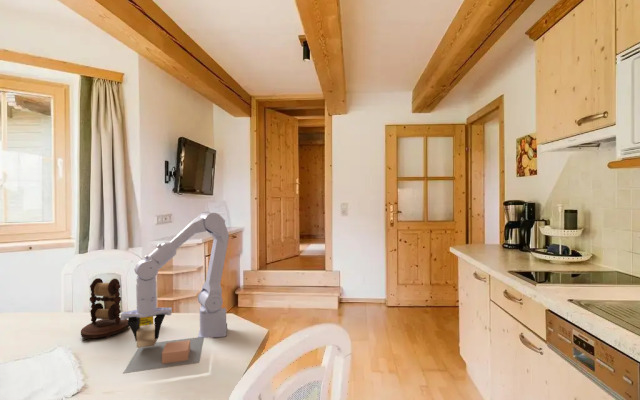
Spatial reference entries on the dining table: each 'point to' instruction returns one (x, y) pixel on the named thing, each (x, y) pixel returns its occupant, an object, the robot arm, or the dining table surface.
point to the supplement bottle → (146, 321)
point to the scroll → (105, 310)
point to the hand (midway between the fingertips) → (147, 338)
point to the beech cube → (146, 336)
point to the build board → (156, 356)
